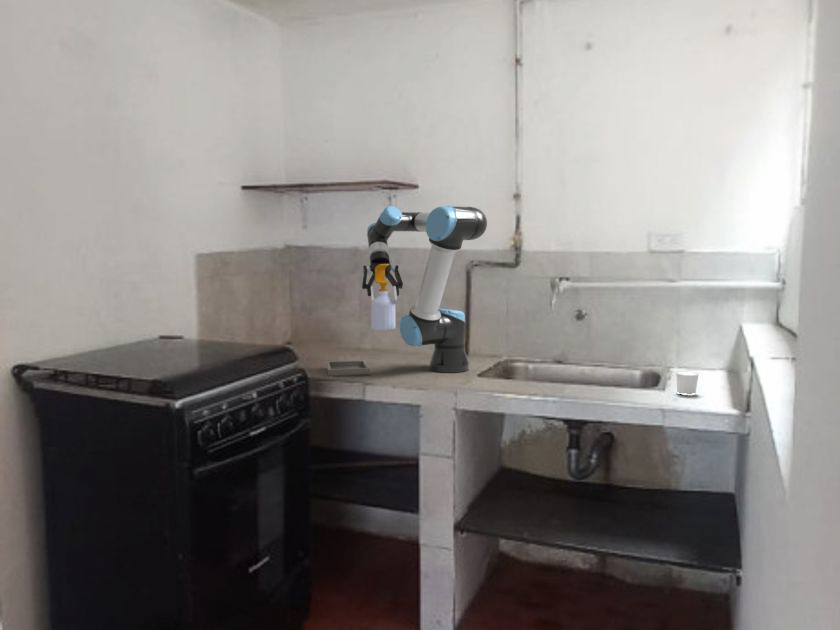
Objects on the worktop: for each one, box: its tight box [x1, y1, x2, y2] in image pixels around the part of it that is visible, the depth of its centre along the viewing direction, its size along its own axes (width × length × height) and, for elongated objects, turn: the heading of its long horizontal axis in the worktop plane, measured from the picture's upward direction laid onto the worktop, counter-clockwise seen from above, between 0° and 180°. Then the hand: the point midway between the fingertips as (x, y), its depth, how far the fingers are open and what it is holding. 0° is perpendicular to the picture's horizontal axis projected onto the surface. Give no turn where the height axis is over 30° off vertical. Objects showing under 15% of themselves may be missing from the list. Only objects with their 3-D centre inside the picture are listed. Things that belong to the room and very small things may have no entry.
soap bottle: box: [370, 264, 396, 331], centre depth 267 cm, size 9×9×25 cm
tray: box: [326, 360, 371, 377], centre depth 268 cm, size 15×16×3 cm
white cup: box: [675, 371, 699, 394], centre depth 234 cm, size 7×7×7 cm
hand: (384, 301), depth 264 cm, fingers closed on soap bottle, 8 cm apart
